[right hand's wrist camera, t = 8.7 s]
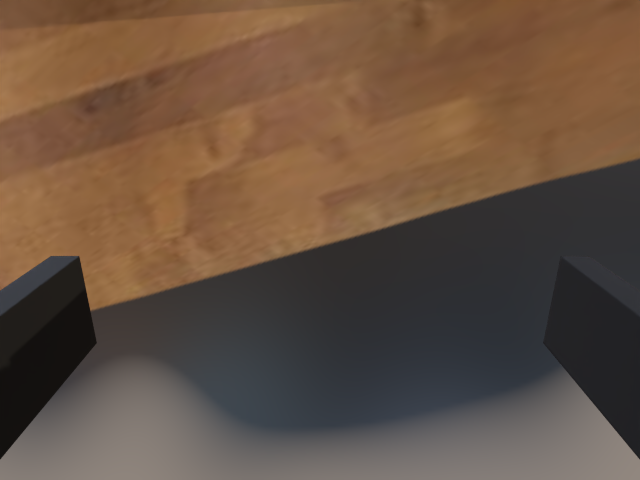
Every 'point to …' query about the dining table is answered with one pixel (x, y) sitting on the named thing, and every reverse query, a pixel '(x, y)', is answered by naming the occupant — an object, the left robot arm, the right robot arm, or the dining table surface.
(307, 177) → the dining table surface
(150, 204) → the dining table surface
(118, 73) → the dining table surface
